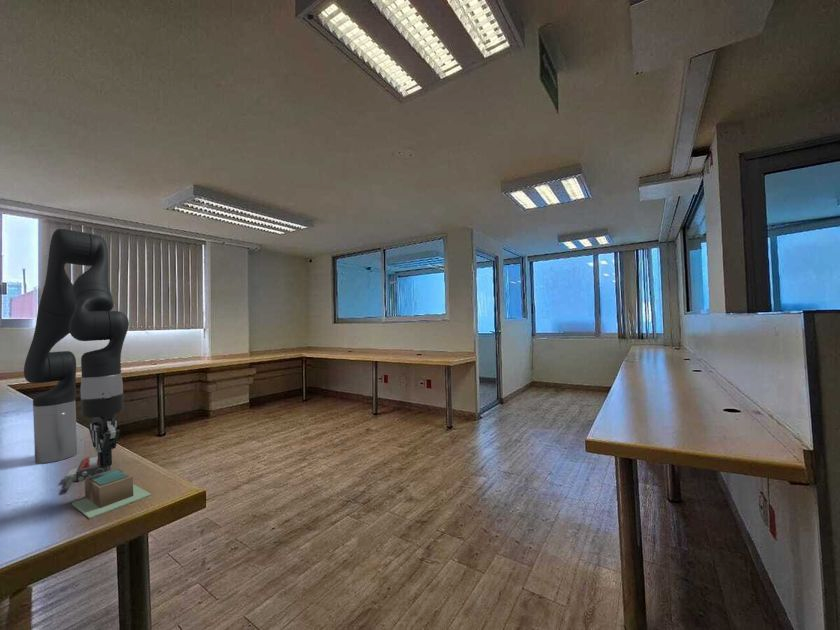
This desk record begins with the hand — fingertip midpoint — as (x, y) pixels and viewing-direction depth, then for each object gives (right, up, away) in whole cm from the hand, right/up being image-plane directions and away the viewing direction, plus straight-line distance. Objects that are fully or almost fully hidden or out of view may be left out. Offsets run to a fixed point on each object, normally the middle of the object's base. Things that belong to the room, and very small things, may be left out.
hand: (105, 466), depth 84 cm
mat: (+4, -7, -2) cm, 8 cm away
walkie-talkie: (-15, -8, +12) cm, 21 cm away
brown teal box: (-2, -5, +2) cm, 5 cm away
